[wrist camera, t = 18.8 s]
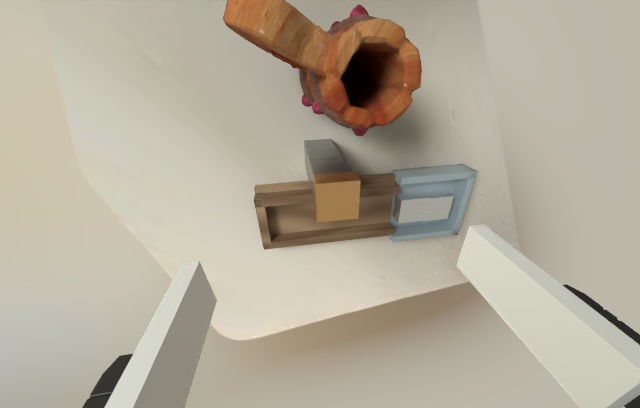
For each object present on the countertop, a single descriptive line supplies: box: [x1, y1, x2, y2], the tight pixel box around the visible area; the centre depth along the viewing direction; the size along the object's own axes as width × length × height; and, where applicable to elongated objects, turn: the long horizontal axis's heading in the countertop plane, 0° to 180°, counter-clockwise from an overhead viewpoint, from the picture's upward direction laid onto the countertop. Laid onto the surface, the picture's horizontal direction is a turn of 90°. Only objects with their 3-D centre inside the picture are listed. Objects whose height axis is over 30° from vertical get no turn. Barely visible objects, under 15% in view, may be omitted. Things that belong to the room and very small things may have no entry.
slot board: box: [254, 173, 400, 249], centre depth 34 cm, size 10×20×3 cm, turn 92°
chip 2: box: [421, 189, 454, 221], centre depth 36 cm, size 4×4×2 cm
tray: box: [389, 164, 477, 242], centre depth 36 cm, size 11×11×3 cm
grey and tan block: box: [304, 139, 361, 222], centre depth 25 cm, size 4×4×14 cm
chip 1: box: [392, 190, 428, 224], centre depth 35 cm, size 4×4×2 cm
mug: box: [223, 0, 422, 136], centre depth 20 cm, size 15×8×15 cm, turn 64°
